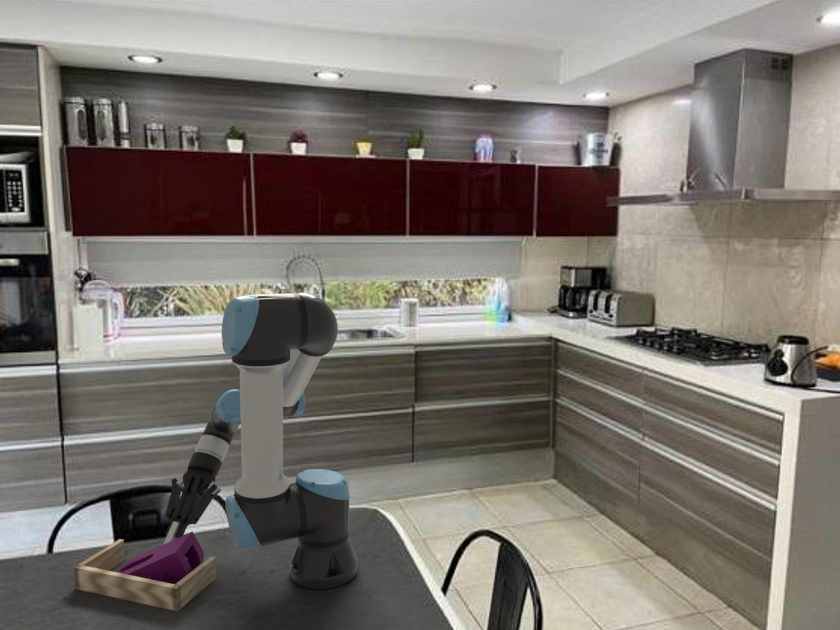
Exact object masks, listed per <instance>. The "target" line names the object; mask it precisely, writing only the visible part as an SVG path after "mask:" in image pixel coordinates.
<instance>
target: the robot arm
mask: <svg viewBox="0 0 840 630" xmlns="http://www.w3.org/2000/svg"><path fill="white" fill-rule="evenodd" d="M221 322H222V323H221V324H222V325H221V338H222V340H221V344H222V350H223V351H224V353H225V355H227V356H229V357H231V362H232V364H234V365H235V367H237V368H238V370H239V389H238V388H237V389H230V390H227V391H225V392H224V393H223V394H222V395H221V396H220V397H219V399H218V400H217V402H216V404H215V405H214V407H213V408H212V412H211V414H210V417H209V419H208V421H207V423H206V426H205V428H204V430H203V431H202V435H201V436H200V438H199V440H198V443H197V445H196V446H195V448H194V452H193V454H192V456H191V458H190V460H189V462H188V465H187V470H186V471H185V472H184V474H183V475H182V477H180V478H178V479H177V478H172V480H171V491H170V495H169V499H168V504H167V508H166V512H165V517H166V518H167V519H168V520H170V523H169V524H168V527H167V529H166V531H165V536H166V537H165V540H164V541H163V544H162V545H164V544H166V543H168V542H170V541H173V540H175V539H177V538H179V537H181V536H184V535H185V532H186V530H187V529H188V526H190V525H197V523H198V522H199V521H200V519H201V517H202V516H203V514H204V513H205V511H206V510H207V509H208V507H209V506H210V504H211V502H212V501H213V499H214V498H215V497H216V496H217V495H218V494H219V493H220V492H221V488H220V487H219V486H218V485H217V484H216V477H217V476H218V475H219V472H220V470H221V467H222V465H223V461H224V460H225V458H226V455H227V454H228V451H229V449H230V446H231V443H232V441H233V439H234V437H235V434H236V433H237V430H238V428H239V427H240V456H241V457H240V461H241V465H240V467H241V471H240V472H241V477H240V478H239V479H237V480H236V482H235V483H234V488H233V489H234V492H233V493H234V494H230V495H228V496H226V498H225V504H224V505H225V510H226V515H227V516H226V518H227V520H228V521H227V522H228V525H229V528H230V532H231V534H232V537H233V539H234V541H235V544H236V545H237V547H238V548H239V549H241V550H244V551H245V550H246V551H247V550H251V549H255V548H259V549H260V548H262V547H265V546H269V545H273V544H277V543H280V542H281V543H282V542H285V541H288V540H293V539H297V543H296V546H295V548H294V553H293V555H292V557H291V558H292V559H291V562H290V577H291V580H292V581H293V582H294V583H295V584H297V585H298V586H300V587H303V588H306V589H310V590H311V589H312V590H328V589H334V588H337V587H339V586H343V585H345V584H347V583H349V582H351V581H352V580H353V579H354V578H355V576H356V575H357V573H358V558H357V555H356V552H355V549H354V546H353V543H352V540H351V538H350V498H351V494H350V490H349V489H350V488H349V481H348V479H347V477H346V476H344V475H343V474H342V473H340V472H337V471H334V470H330V469H324V468H310V469H309V468H308V469H305V470H302V471H300V472H298V473H297V474H296V477H295V481H294V482H291V480H290V478H289V477H288V476H286V475H285V474H284V419H285V418H292V417H295V416H296V417H297V416H300V415H303V413H305V409H306V396H305V393H304V391H305V390H306V388H307V386H308V384H309V382H310V380H311V378H312V376H313V374H314V373H315V371H316V369H317V367H318V365H319V363H320V362H321V360H322V358H323V357H324V356H326V355H327V354H329V353H330V352H331V350H332V349H333V347H334V345H335V343H336V341H337V338H338V333H339V327H338V321H337V318H336V315H335V313H334V310H332V308H331V307H330V305H329V304H328V303H327V302H326V301H325V300H323V299H322V298H320V297H318V296H317V295H314V294H311V293H308V292H294V293H293V292H290V293H289V292H288V293H268V294H267V293H266V294H263V293H261V294H254V293H252V294H248V295H242V296H241V295H240V296H236V297H233V298H231V300H229V302H228V303H227V305H226V307H225V310H224V313H223V316H222V321H221Z"/></svg>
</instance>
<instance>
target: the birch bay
mask: <svg viewBox="0 0 840 630" xmlns="http://www.w3.org/2000/svg"><path fill="white" fill-rule="evenodd" d="M124 541H125V539H121V538H119V539H117V540H116V541H114V542H112V543H111V544H109V545H108V546H105V548H103V549H101V550H99V551H98V552H96V553H95V554H92V555H91V556H89V557H88V558H87V559H85V560H84V561H81V562H80V563H79V564H77V565H75V566H74V567H73V573H74V574H73V575H74V585H75V590H79V591H84V592H88V593H93V594H97V595H102V596H107V597H111V598H116V599H119V600H125V601H129V602H132V603H138V604H141V605H147V606H151V607H156V608H160V609H164V610H169V609H170V610H169V611H173V610H175V611H174V612H179V610H181V609H182V608H183V607H185V606H186V604H188V603H189V602H190V601H191V600H192V599H194V598H195V597H196V596H197V595H198V594H199V593H201V592H202V591H203V590H204V589H205V588H206V587H207V586H209V585H210V584H211V583H212V582H213V581H215V580H216V579H217V561H216V556H212V555H211V556H209V557H208V558H207V559H206V560H203V562H202V564H200V565H199V566H198V567H197V568H195V569H194V570H193V571H192V572H190V573H189V574H188V575H187V576H185V577H184V578H183V579H182V580H180V581H179V582H178V583H177V584H170V583H165V582H161V581H156V580H151V579H150V578H146V577H143V578H141V577H136V576H132V575H127V574H122V573H117V572H116V571H111V570H112V569H113V568H114V567H116V566H118V565H119V564H121V563H122V562H124V561H126V555H125V552H126V551H125V542H124Z"/></svg>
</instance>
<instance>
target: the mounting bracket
mask: <svg viewBox="0 0 840 630" xmlns="http://www.w3.org/2000/svg"><path fill="white" fill-rule="evenodd" d="M204 559H205V555H204V550H203V548H202V547H201V545H200V543H199V541H198V539H197V537H196V536H195V533H194V532H193V531H190V532H188V533H186V534H184V535H183V536H181V537H179V538H177V539H175V540H173V541H170V542H168V543H166V544H164V545H163V544H162V545H159V546H157V547H155V548H152V549H151V550H148V551H146V552H145V553H142V554H139V555H138V556H136V557H135V558H132V559H130V560H129V561H128V562H126V563H125V564H123V565H122V566H121V567H120V568H119V567H118V569H117V570H116V571H115V572H117V573H122V574H127V575H132V576H136V577H141V578H146V577H148V578H149V579H151V580H156V581H161V582H165V583H170V584H177V583H178V582H179V581H180V580H182V579H183V578H184V577H185V576H187V575H188V574H189V573H190V572H192V571H193V570H194V569H195V568H197V567H198V566H199V565H200V564H202V563H203V562H204ZM171 574H172V575H171Z"/></svg>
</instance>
